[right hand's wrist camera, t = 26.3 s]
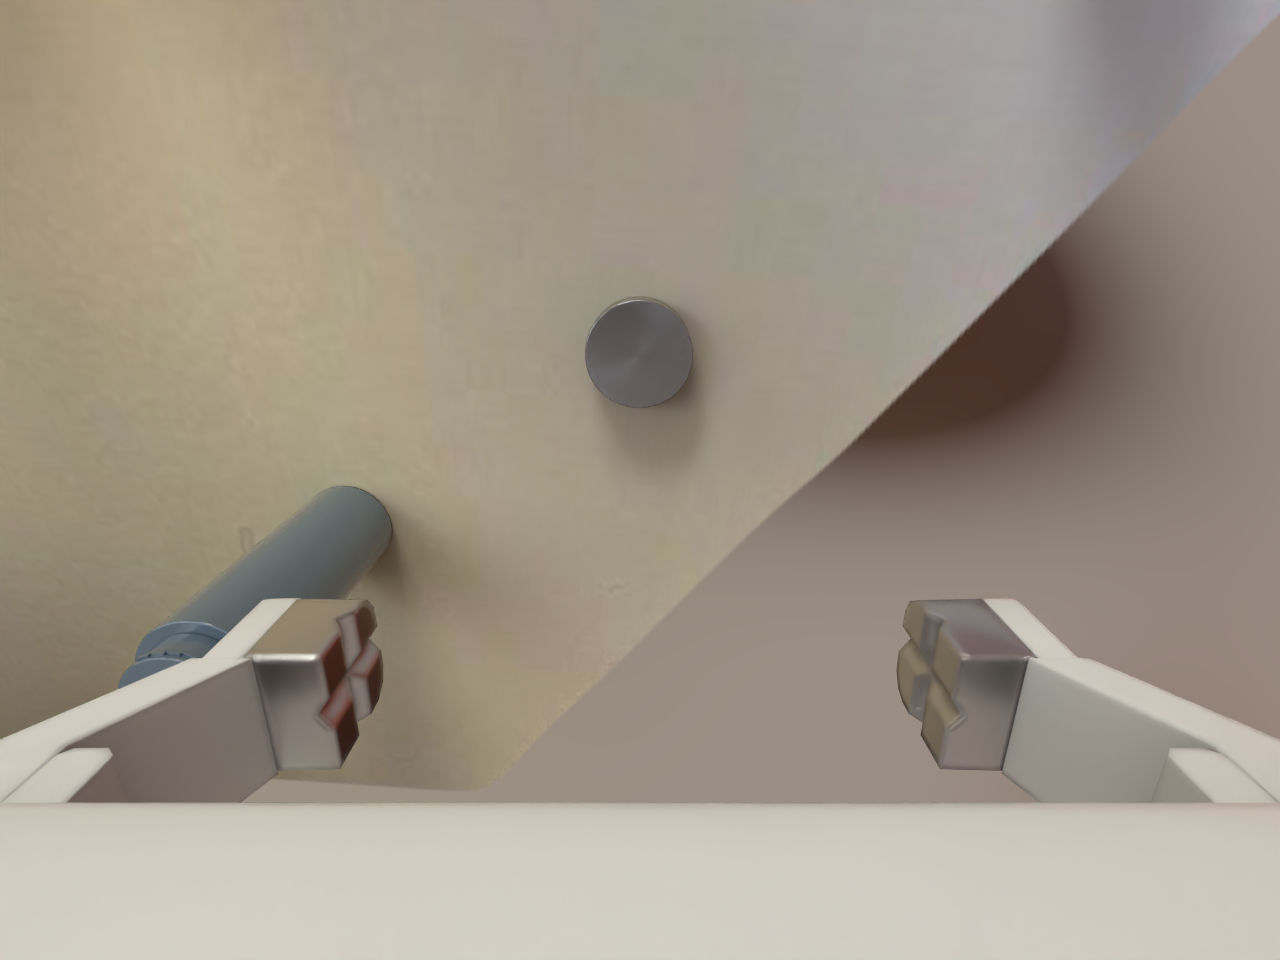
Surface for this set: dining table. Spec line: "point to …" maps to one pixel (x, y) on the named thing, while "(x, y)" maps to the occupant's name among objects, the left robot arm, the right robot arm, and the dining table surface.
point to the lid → (638, 352)
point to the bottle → (274, 576)
